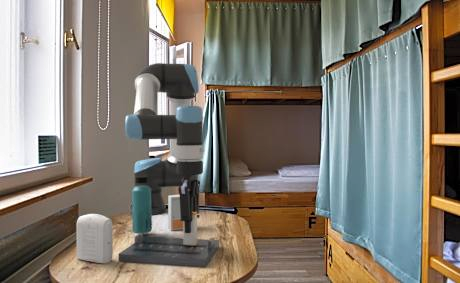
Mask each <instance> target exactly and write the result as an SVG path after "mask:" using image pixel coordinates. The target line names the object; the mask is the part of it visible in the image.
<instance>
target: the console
mask: <svg viewBox="0 0 460 283" xmlns="http://www.w3.org/2000/svg"><path fill="white" fill-rule="evenodd" d="M219 248H220V240H219V239H218V240H217V239H215V237H210V238H209V239H203V238H202V239H201V238H199V239H198V238H197V244H196V245H183V237H163V236H149V235H148V236H146V235H143V234H138V235H136V236H134V243H132V244H131V245H129V246H128V247H126V248H125V249H124V250H122V251H120V252H119V253H118V254H117V255H118V262H123V263H140V264H150V263H151V264H154V265H168V266H181V267H195V268H207V266H208V264H209V263H210V261H212V258H213V257H214V255H215V254H216V252H217V250H219Z"/></svg>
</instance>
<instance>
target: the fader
mask: <svg viewBox="0 0 460 283" xmlns="http://www.w3.org/2000/svg"><path fill="white" fill-rule="evenodd" d="M197 215H198V214H197V212H193V218H192V219H193V220H192V221H194V244H184V221H183V229H182V232H183V233H182V234H183V237H182V238H183V245H196V244H197V239H198V218H197Z"/></svg>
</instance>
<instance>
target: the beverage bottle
mask: <svg viewBox="0 0 460 283" xmlns="http://www.w3.org/2000/svg"><path fill="white" fill-rule="evenodd" d="M147 182H148V179H147V176H137V177H136V178H135V177H134V184H135V183H147ZM131 193H132V194H131V195H132V196H131V200H132V202H131V205H133V208H132V213H131V215H132V233H134V234H138V235H139V234H148V233H150V232H152V229H153V215H152V211H151V188H150V187H148V186H136V187H135V186H134V187H133V189H132V190H131Z"/></svg>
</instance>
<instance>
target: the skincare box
mask: <svg viewBox="0 0 460 283" xmlns="http://www.w3.org/2000/svg"><path fill="white" fill-rule="evenodd" d="M167 197H168V198H167V200H168V201H167V202H168V203H167V207H168V208H167V210H168V212H167V216H168V217H167V218H168V219H167V220H168V221H167V224H168V225H167V228H168V229H169V230H170V231H171V232H172V231H179V230H180V231H181V230H182V231H183V221H180V219H181V213H180V195H179V194H170V195H168V196H167Z"/></svg>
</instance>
